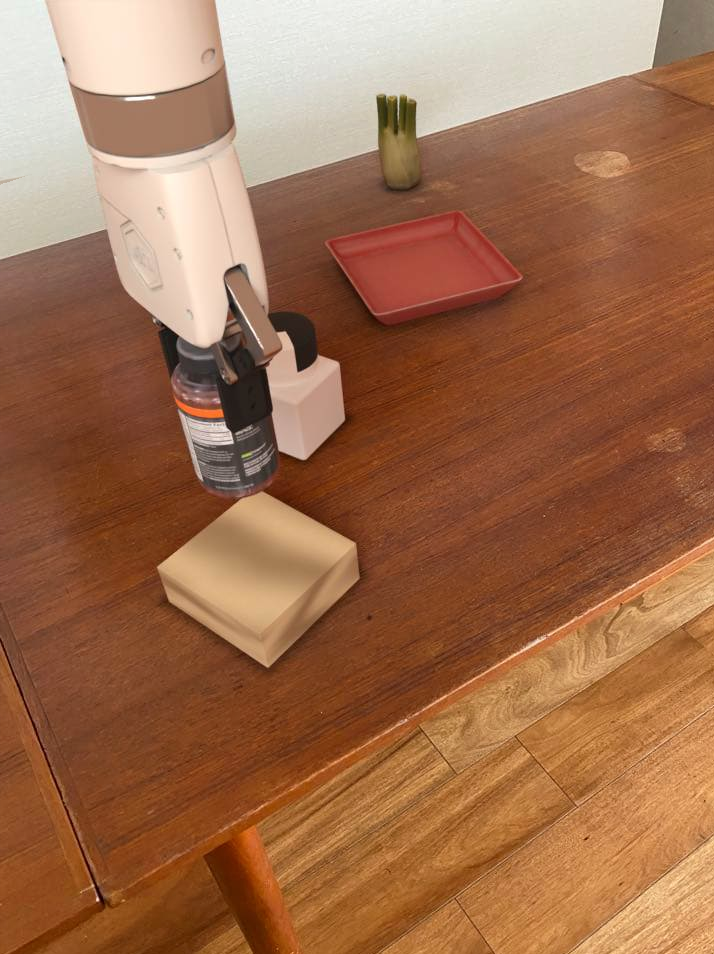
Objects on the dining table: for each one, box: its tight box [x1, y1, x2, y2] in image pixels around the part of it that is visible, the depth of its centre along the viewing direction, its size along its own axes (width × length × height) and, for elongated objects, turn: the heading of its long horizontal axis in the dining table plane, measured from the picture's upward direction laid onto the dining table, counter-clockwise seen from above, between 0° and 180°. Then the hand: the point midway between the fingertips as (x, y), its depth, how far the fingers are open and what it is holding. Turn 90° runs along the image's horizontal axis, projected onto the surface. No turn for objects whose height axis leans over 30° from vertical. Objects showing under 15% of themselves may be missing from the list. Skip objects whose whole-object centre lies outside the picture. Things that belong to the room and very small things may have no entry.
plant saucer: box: [324, 210, 523, 326], centre depth 102 cm, size 18×18×3 cm
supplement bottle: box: [170, 333, 281, 500], centre depth 57 cm, size 6×6×11 cm
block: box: [156, 490, 360, 669], centre depth 69 cm, size 11×11×4 cm
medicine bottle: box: [266, 310, 346, 461], centre depth 80 cm, size 7×7×12 cm
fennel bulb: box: [375, 93, 422, 192], centre depth 116 cm, size 6×5×12 cm
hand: (221, 395), depth 56 cm, fingers closed on supplement bottle, 6 cm apart
